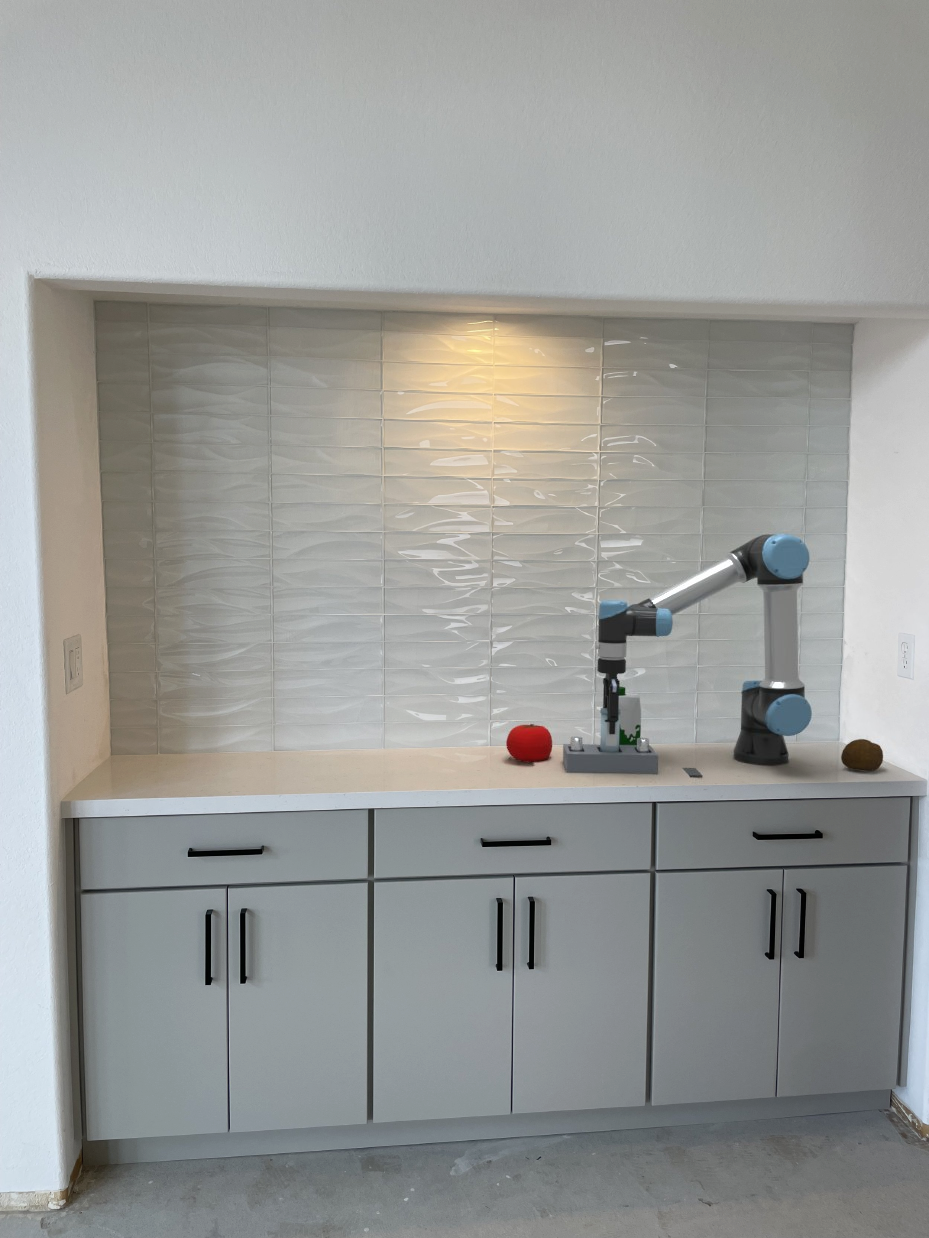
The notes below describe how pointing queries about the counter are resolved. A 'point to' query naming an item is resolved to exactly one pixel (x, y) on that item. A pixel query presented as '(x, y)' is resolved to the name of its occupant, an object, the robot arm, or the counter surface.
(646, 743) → the plunger
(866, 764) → the potato
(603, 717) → the cartridge
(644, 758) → the housing
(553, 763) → the counter surface
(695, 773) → the mat
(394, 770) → the counter surface
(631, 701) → the milk carton
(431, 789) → the counter surface
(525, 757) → the tomato
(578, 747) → the plunger
